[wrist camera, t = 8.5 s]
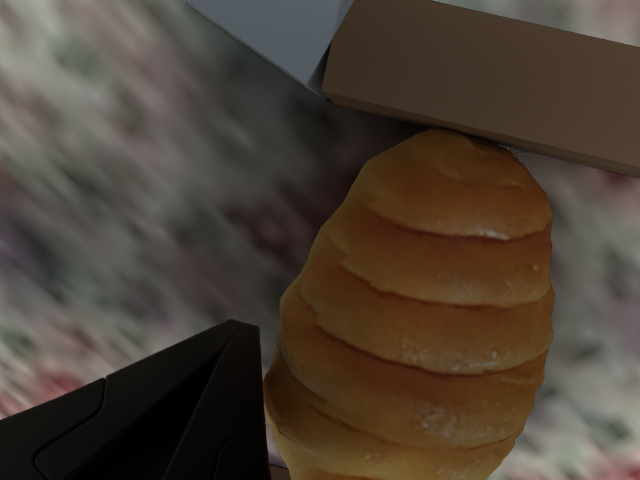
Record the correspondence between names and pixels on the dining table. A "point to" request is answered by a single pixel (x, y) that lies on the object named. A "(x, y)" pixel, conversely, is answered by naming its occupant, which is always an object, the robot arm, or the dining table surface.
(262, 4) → the holder
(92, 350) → the dining table surface
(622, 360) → the dining table surface
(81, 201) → the dining table surface
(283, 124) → the dining table surface
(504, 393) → the pastry
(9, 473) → the robot arm
